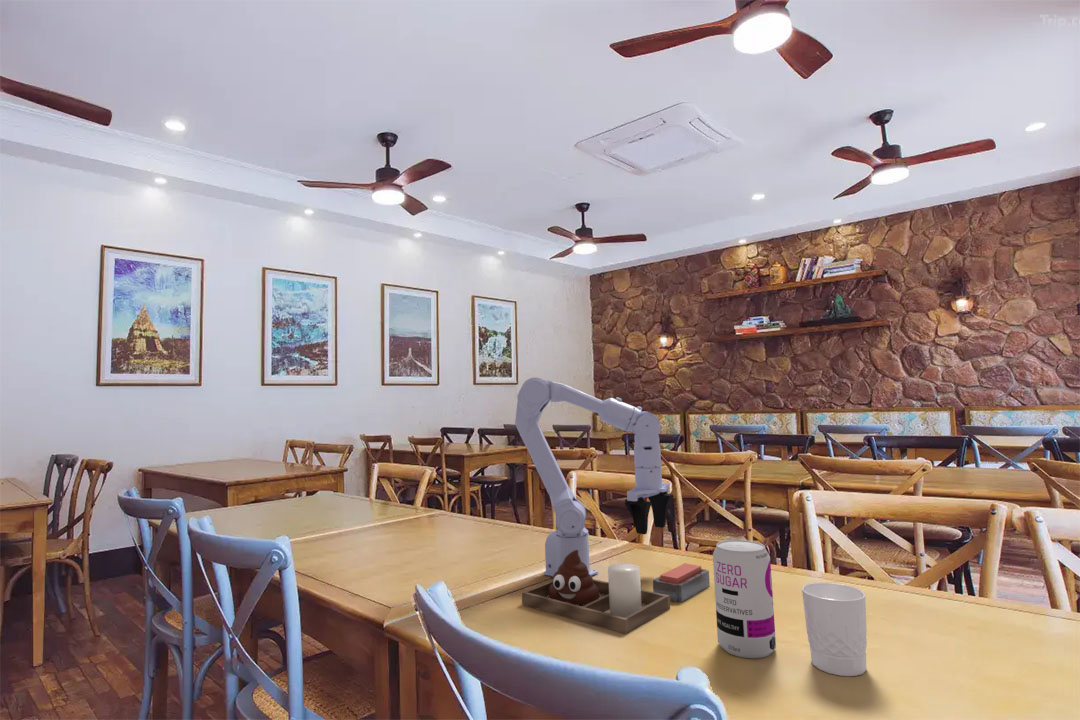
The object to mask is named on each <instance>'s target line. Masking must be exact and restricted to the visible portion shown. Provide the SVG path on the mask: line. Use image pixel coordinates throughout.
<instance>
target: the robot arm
mask: <svg viewBox="0 0 1080 720" xmlns="http://www.w3.org/2000/svg"><path fill="white" fill-rule="evenodd" d="M516 398H517V404H516V413H515V420H514V424H515V427H516V428H517V429H516V430H517V431H518V434H519V436H520V437H521V440H522V442H523V444H524V446H525V448H526V449H527V452H528V454H529V456H530V458H531V460H532V463H533V465H534V466H535V469H536V471H537V473H538V475H539V477H540V479H541V481H542V483H543V485H544V487H545V490H546V492H547V494H548V496H549V499H550V502H551V506H552V507H551V508H552V509H553V511H554V514H555V525H556V528H557V529H555V530H553V531H551V532H550V533H548V535H547V537H546V539H545V543H544V553H545V554H544V555H545V557H544V558H545V560H544V561H545V571H544V572H543V575H544V576H549V577H552V578H553V575H554V574H555V572H557V571H558V568H559V566H560V565H561V564H562V563H563V561H564V559H565V557H566V556H567V555H568V554H570V553H571V552H573V551H575V550H578V555H579V557H580V559H581V562H583V563H584V564H585V565H586V566H587V569H588V571H589V574H590V575H591V576H592V577H593V576H594V575H597V574H598V573H599V570H596V569H592V568H590V567H591V566H590V565H591V564H590V543H589V542H590V541H589V530H588V529H587V528H586V527H585V524H586V517H587V509H586V507H585V505H584V504H583V503H582V502H581V501H580V500H578V499H577V498H576V496H575V494H574V492H573V491H572V489H571V488H570V486H569V485H568V483H567V480H566V478H565V476H564V474H563V472H562V470H561V468H560V466H559V464H558V462H557V459H556V457H555V455H554V453H553V452H552V450H551V447H550V446H549V443H548V442H547V438H546V437H545V435H544V433H543V431H542V429H541V426H540V424H539V422H540V418H541V416H542V414H543V411H544V409H545V408H546V406H548V404H549V403H550V402H551V403H559V402H567V403H569V404H572V405H573V406H574V405H575V406H578V407H580V408H583V409H584V410H585V409H586V410H588V411H590V412H592V413H593V412H594V413H596V414H598V417H599V419H600V421H601V422H602V423H605V424H606V425H609V426H613V427H615V428H617V429H620V430H623V431H624V432H626V433H627V432H631V431H632V432H633V434H634V445H633V456H634V479H635V483H634V484H635V486H634V487H633V488H631V490H627V491H626V499H624V505H625V506H626V508H627V509H628V511H629V514H630V515H631V519H632V521H633V525H634V528H635V531H636V534H638V535H647V533H648V528H649V527H648V525H649V523H648V522H649V514H650V510H652V511H651V512H652V517H653V524H654V527H655V528H662V529H663V528H665V527H666V523H667V516H668V512H669V509H670V506H671V503H672V501H673V499H674V494H673V493H670V492H671V490H670V483H667V482H663V478H662V477H663V473H662V459H661V458H662V457H661V454H662V453H661V445H660V435H659V434H660V432H661V430H662V429H661V428H662V425H661V421H660V420H659V418H658V417H657V416H656V415H655V414H654V413H652V412H649V411H646V410H644V411H642V410H643V407H641V406H640V405H639V406H637V407H636V406H633V405H631V404H629V403H626V402H625V401H624V402H623V401H622V400H623V399H622V398H620V397H618V396H617V397H615V398H613V397H609V398H607V399H603V400H602V399H600V398H597V397H595V396H593V395H590V394H587V393H585V392H583V391H581V390H579V389H576V388H574V387H572V386H570V385H566V384H564V383H560V382H557V381H552V380H544V379H542V378H540V377H535V376H534V377H530V378H528V379H526V380H525V381H524V383H523V384H522V386H521V388H520V390H519V392H518V393H517V397H516ZM645 498H648V500H647V501H646V500H645Z"/></svg>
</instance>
